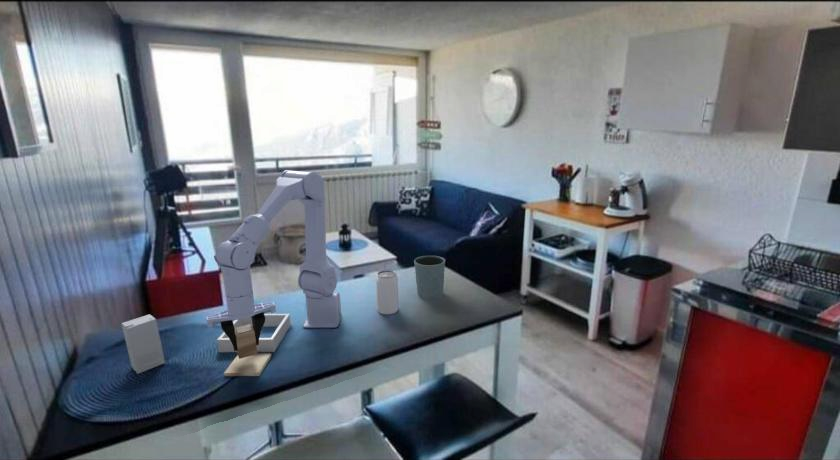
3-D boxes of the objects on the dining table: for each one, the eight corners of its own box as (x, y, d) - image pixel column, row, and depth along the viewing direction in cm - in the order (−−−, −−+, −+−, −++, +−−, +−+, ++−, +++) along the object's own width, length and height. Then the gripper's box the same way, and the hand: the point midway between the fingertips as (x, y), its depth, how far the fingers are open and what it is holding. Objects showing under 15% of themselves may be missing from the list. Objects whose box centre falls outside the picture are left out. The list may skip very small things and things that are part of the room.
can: (373, 313, 125) (372, 275, 122) (383, 304, 131) (382, 268, 128) (392, 316, 123) (391, 279, 120) (401, 307, 129) (401, 271, 125)
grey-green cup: (445, 300, 133) (445, 265, 130) (413, 300, 134) (413, 265, 130) (444, 287, 143) (444, 255, 140) (414, 287, 143) (414, 255, 140)
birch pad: (271, 356, 103) (271, 353, 103) (259, 375, 95) (258, 372, 95) (239, 356, 103) (238, 353, 103) (224, 375, 95) (224, 372, 95)
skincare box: (159, 357, 103) (150, 312, 99) (166, 363, 100) (157, 318, 97) (130, 368, 98) (120, 322, 95) (136, 375, 95) (126, 328, 92)
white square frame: (290, 324, 118) (289, 313, 117) (274, 351, 105) (272, 339, 104) (241, 325, 118) (240, 313, 117) (218, 352, 105) (216, 339, 104)
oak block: (257, 353, 98) (254, 330, 96) (239, 358, 96) (235, 334, 94) (254, 346, 101) (251, 323, 99) (236, 350, 99) (233, 327, 97)
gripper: (268, 280, 101) (274, 330, 104) (202, 293, 94) (210, 347, 97) (275, 290, 95) (280, 343, 99) (204, 305, 88) (213, 361, 91)
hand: (246, 346), depth 97 cm, fingers closed on oak block, 4 cm apart
